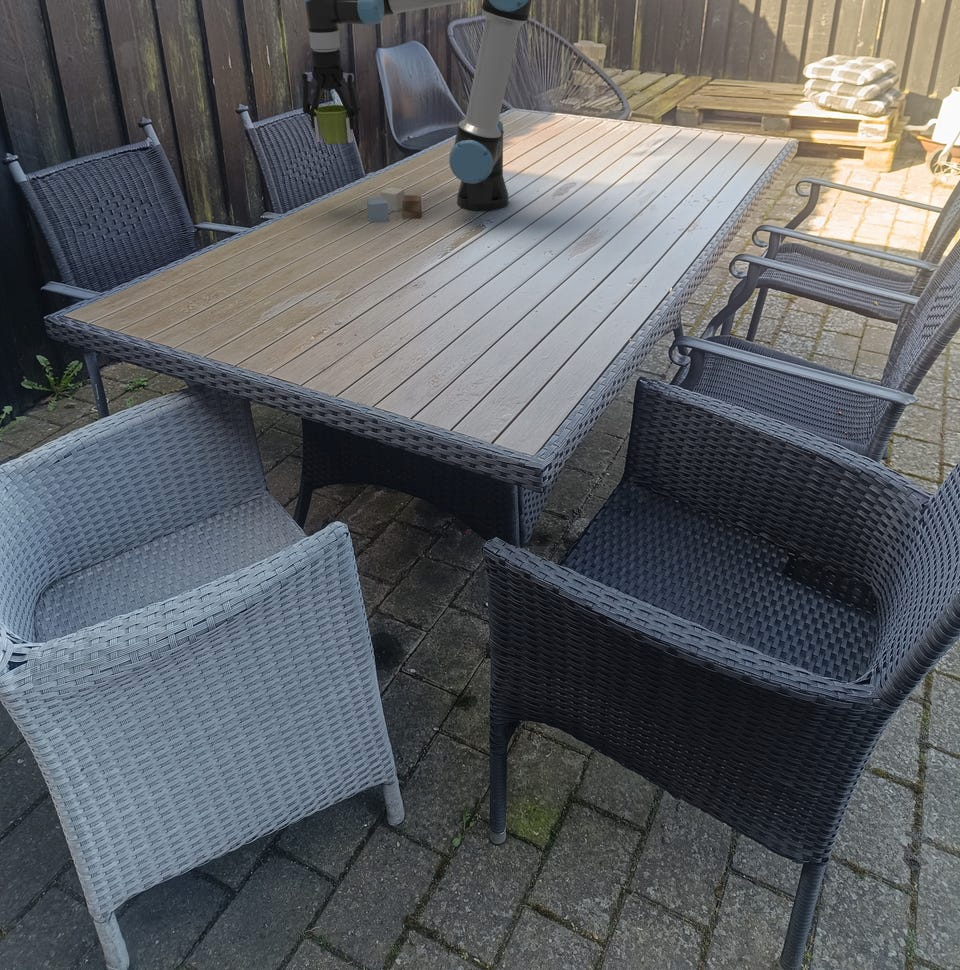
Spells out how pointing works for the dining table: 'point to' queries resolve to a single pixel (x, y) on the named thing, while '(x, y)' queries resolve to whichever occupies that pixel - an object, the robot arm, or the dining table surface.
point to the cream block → (393, 198)
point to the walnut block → (411, 206)
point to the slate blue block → (377, 210)
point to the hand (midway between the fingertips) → (335, 141)
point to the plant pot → (333, 123)
